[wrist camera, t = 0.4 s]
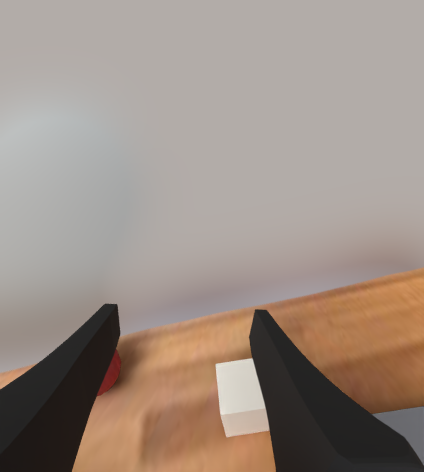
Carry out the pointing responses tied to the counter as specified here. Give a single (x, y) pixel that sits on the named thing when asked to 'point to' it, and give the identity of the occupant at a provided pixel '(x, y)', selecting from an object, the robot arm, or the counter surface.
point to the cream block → (240, 398)
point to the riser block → (407, 426)
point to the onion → (111, 374)
